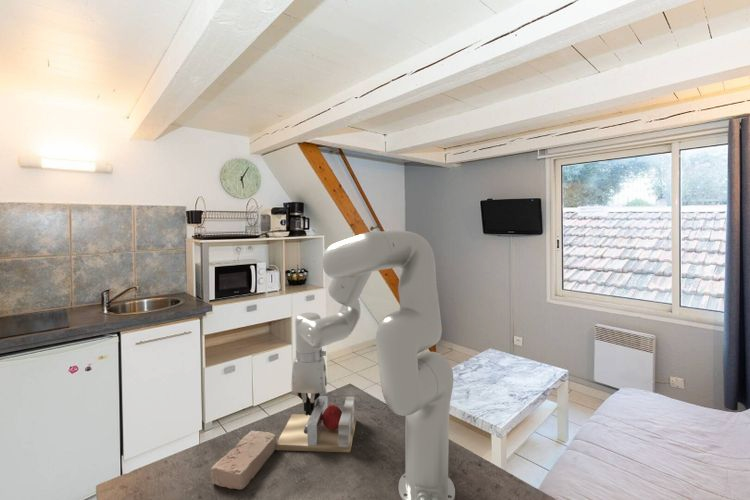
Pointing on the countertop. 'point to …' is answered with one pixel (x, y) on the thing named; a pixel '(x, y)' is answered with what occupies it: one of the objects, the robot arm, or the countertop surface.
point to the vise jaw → (316, 421)
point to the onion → (331, 417)
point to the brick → (244, 460)
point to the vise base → (328, 439)
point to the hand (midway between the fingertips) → (309, 412)
